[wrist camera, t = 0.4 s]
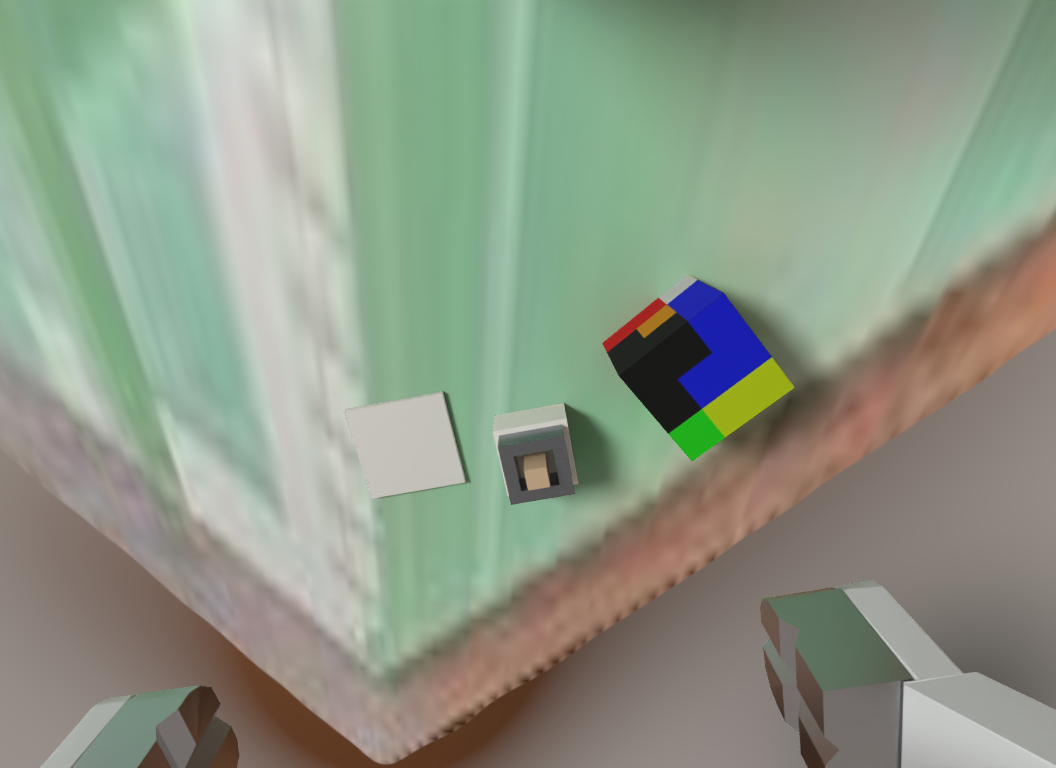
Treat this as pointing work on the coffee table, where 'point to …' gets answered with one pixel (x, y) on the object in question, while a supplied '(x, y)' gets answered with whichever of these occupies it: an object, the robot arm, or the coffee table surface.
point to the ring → (530, 444)
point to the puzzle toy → (696, 365)
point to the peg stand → (539, 463)
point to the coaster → (406, 444)
